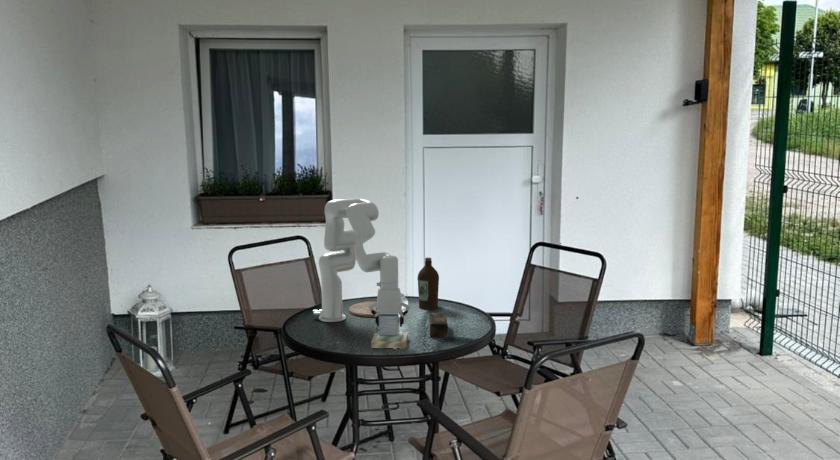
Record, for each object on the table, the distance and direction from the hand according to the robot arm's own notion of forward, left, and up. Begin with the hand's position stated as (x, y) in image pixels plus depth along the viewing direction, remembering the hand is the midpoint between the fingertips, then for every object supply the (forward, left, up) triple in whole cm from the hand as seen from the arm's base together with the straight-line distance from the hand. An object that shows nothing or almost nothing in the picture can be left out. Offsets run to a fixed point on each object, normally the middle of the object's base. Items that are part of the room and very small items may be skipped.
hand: (389, 325), depth 306 cm
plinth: (0, 0, -8) cm, 8 cm away
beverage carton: (+19, +19, -8) cm, 28 cm away
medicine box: (0, 0, -4) cm, 4 cm away
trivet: (-13, +53, -8) cm, 55 cm away
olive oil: (+13, +61, -8) cm, 63 cm away
